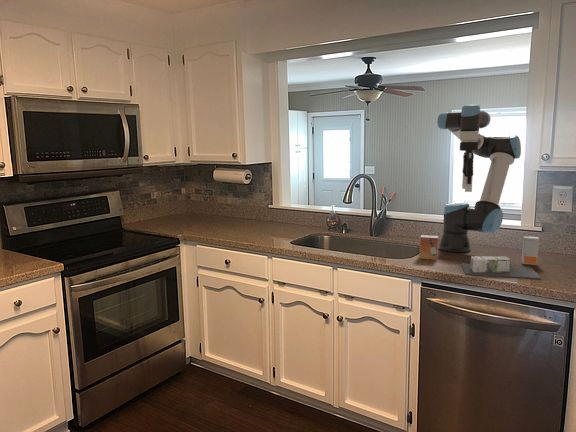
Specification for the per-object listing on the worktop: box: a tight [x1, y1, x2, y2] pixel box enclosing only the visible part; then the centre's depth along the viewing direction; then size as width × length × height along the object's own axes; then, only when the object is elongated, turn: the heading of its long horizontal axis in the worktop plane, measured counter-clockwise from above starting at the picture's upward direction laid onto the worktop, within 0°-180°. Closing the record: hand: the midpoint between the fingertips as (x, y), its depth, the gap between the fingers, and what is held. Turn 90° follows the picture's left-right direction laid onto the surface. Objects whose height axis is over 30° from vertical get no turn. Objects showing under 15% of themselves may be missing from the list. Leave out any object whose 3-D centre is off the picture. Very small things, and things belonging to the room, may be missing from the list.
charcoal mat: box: [461, 263, 542, 280], centre depth 196 cm, size 16×28×1 cm, turn 74°
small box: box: [418, 234, 439, 261], centre depth 219 cm, size 8×6×10 cm
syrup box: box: [470, 255, 511, 273], centre depth 195 cm, size 6×6×14 cm
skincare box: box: [520, 235, 540, 266], centre depth 207 cm, size 6×4×12 cm
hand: (466, 190), depth 207 cm, fingers open, 13 cm apart
